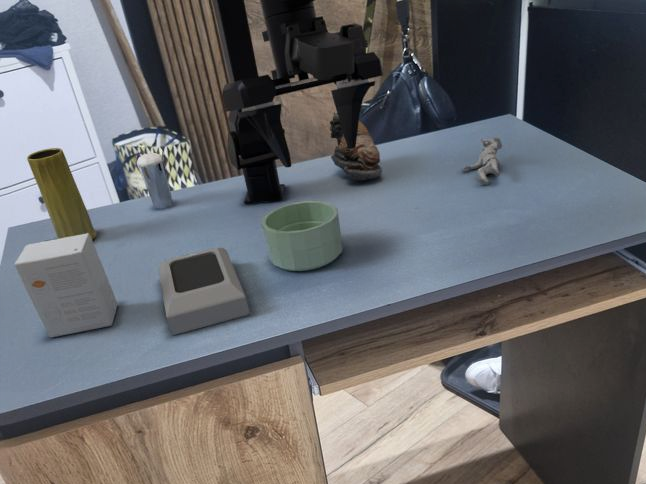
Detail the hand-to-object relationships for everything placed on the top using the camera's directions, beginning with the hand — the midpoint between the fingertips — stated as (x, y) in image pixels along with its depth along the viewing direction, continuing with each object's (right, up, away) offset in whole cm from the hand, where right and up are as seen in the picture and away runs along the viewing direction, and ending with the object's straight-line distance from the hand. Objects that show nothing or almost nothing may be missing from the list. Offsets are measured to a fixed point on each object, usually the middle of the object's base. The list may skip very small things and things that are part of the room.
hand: (321, 157), depth 77 cm
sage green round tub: (-3, -10, +13) cm, 16 cm away
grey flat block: (-16, -16, +7) cm, 24 cm away
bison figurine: (+5, +8, +37) cm, 38 cm away
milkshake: (-29, +2, +36) cm, 46 cm away
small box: (-31, -20, +5) cm, 37 cm away
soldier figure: (+27, +6, +30) cm, 41 cm away
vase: (-41, -5, +28) cm, 50 cm away
